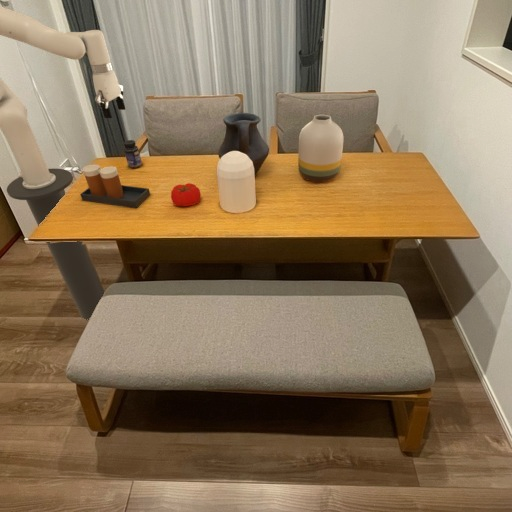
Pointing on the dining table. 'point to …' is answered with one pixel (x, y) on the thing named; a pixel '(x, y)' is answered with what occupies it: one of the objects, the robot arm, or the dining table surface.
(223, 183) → the container
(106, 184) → the amber bottle
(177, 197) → the tomato
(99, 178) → the amber bottle
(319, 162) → the vase
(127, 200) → the tray
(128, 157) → the pill bottle
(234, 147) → the pitcher
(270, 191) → the dining table surface
